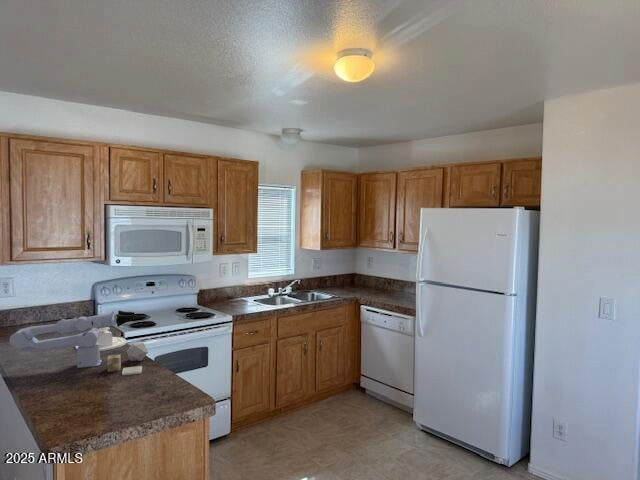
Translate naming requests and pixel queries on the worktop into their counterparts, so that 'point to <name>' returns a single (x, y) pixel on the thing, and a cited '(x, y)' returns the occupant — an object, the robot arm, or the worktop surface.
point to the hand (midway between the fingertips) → (133, 316)
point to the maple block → (114, 362)
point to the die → (137, 352)
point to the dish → (108, 340)
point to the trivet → (132, 370)
